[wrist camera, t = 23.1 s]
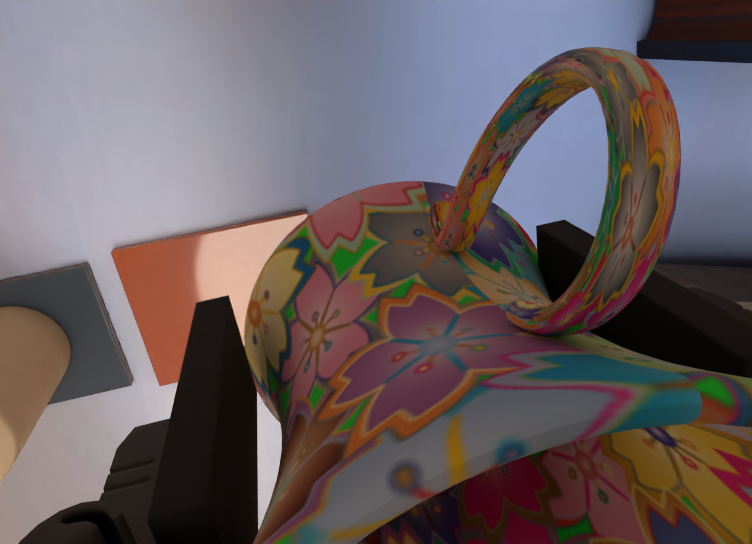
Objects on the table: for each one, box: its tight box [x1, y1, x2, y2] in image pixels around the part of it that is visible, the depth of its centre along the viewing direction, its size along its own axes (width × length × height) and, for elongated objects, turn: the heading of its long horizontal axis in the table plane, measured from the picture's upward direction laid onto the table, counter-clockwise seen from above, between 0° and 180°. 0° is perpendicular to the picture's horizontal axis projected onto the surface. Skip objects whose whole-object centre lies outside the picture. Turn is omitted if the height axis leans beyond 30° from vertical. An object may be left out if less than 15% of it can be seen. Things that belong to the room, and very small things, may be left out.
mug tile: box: [111, 210, 308, 386], centre depth 33 cm, size 9×11×1 cm
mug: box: [244, 47, 752, 544], centre depth 11 cm, size 12×9×11 cm
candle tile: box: [0, 263, 133, 405], centre depth 32 cm, size 8×10×1 cm
